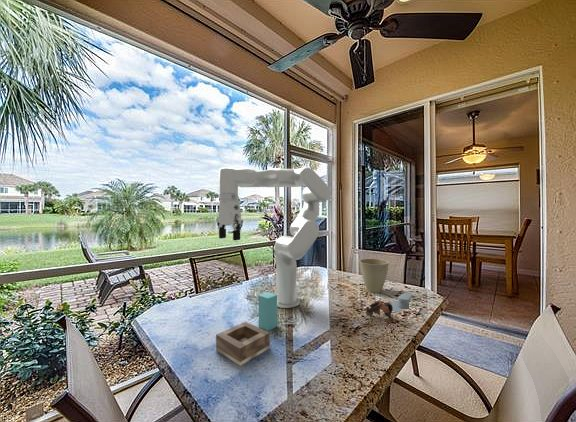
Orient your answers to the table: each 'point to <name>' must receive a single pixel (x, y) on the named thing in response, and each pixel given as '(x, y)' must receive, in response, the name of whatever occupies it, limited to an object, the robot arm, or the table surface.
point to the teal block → (267, 311)
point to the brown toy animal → (376, 308)
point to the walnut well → (242, 342)
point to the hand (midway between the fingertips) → (229, 239)
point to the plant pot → (374, 273)
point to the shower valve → (401, 302)
